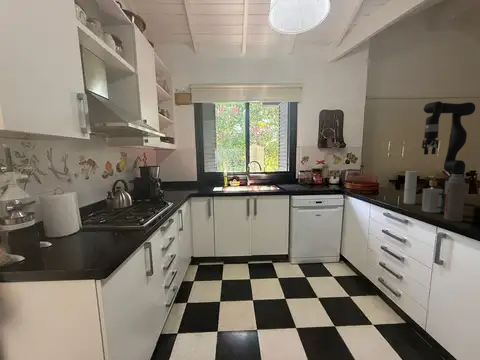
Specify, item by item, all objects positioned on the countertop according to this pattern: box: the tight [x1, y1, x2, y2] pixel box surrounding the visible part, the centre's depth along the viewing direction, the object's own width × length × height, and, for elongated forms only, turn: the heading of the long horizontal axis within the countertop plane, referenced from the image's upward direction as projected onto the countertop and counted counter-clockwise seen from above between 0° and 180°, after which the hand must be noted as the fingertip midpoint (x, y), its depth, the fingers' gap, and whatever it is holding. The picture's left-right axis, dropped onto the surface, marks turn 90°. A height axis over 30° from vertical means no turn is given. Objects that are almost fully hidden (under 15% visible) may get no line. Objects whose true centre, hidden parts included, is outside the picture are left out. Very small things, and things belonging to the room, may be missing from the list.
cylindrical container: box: [403, 170, 418, 205], centre depth 177 cm, size 7×7×25 cm
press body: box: [421, 187, 446, 214], centre depth 151 cm, size 9×12×15 cm
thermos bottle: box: [443, 172, 467, 222], centre depth 133 cm, size 8×8×28 cm
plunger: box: [428, 180, 438, 190], centre depth 152 cm, size 5×5×18 cm
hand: (429, 154), depth 163 cm, fingers open, 8 cm apart
